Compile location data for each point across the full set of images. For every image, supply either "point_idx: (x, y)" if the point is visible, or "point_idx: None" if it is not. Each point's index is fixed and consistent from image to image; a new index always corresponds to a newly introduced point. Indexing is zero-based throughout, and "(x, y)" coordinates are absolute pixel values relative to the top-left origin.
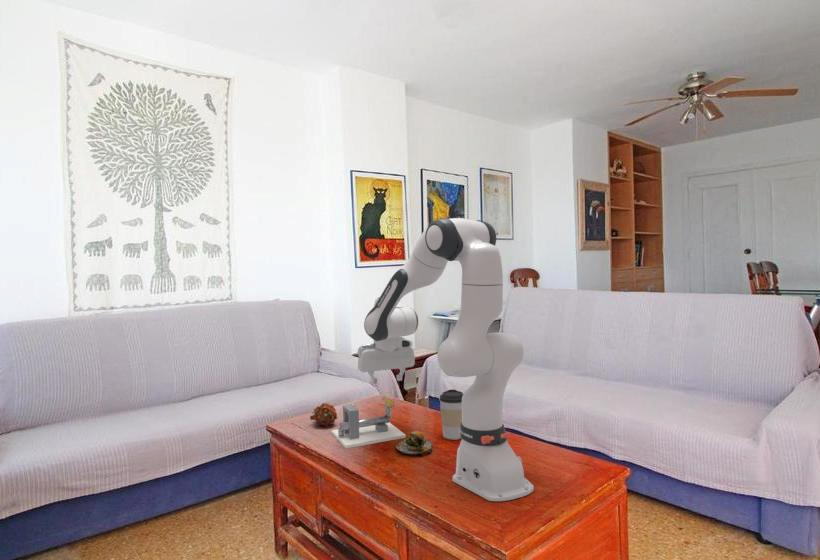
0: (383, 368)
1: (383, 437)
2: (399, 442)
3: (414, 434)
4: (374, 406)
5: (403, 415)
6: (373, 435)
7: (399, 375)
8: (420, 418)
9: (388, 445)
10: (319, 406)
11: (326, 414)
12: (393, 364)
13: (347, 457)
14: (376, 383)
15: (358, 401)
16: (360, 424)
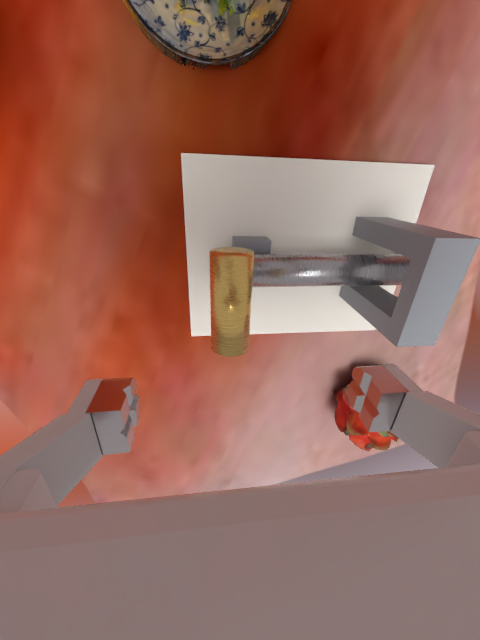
0: (406, 497)
1: (278, 172)
2: (251, 44)
3: None
4: (174, 468)
5: None
6: (300, 217)
7: (99, 430)
8: (55, 334)
9: (283, 101)
10: (394, 439)
11: None
12: (195, 605)
13: (476, 62)
14: (360, 366)
15: None
16: (354, 255)
